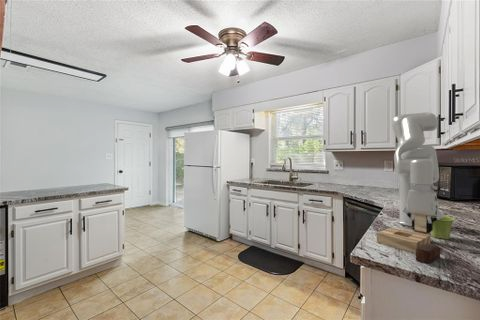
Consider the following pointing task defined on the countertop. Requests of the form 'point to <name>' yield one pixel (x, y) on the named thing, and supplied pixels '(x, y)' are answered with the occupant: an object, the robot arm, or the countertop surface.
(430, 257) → the brick
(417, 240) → the seat board
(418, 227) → the peg
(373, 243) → the countertop surface
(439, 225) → the plant pot
